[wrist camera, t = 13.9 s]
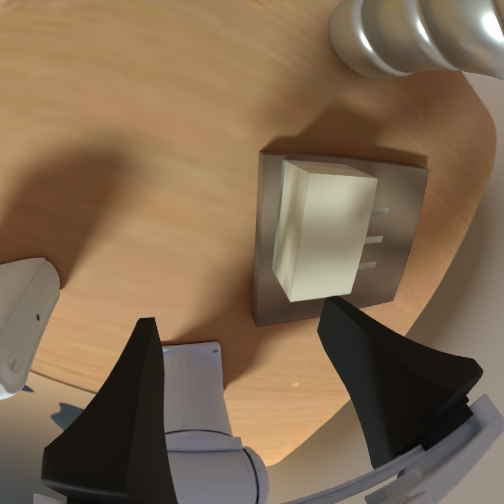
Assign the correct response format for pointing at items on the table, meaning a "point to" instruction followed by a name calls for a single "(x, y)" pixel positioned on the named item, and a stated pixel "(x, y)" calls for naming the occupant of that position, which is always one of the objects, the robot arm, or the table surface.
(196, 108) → the table surface
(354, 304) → the grey flat square block
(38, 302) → the photo printer
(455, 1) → the plastic bottle
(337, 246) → the block
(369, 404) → the robot arm
